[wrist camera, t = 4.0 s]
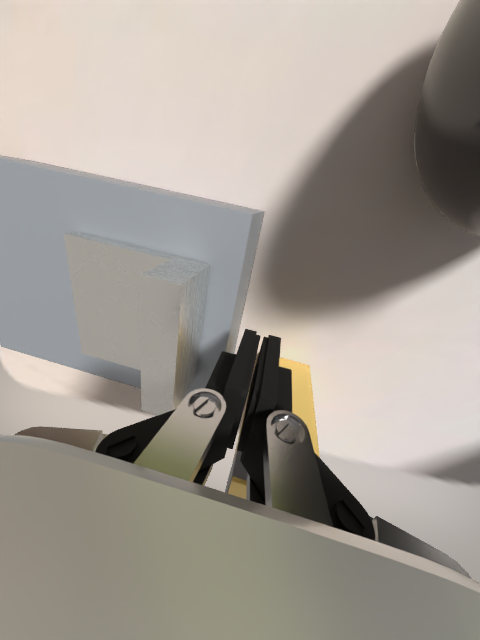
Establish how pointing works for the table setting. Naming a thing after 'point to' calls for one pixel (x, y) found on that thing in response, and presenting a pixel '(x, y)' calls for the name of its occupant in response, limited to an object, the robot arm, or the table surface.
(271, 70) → the table surface
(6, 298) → the socket board
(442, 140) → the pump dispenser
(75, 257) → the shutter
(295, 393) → the plug
